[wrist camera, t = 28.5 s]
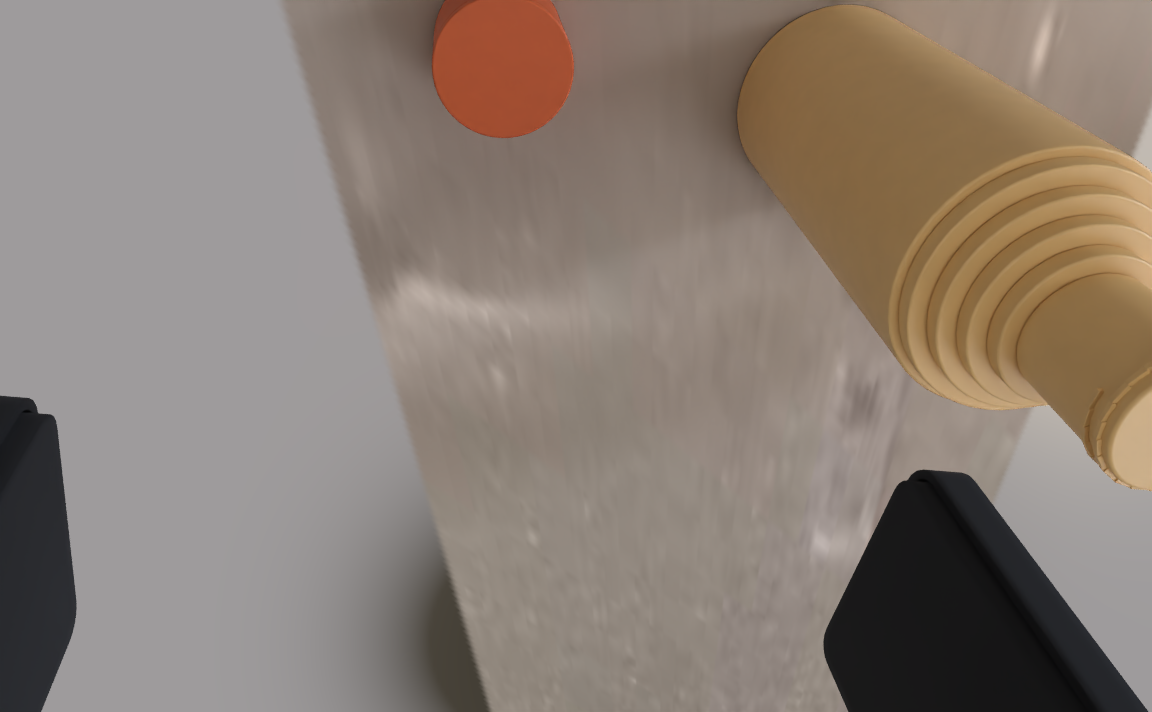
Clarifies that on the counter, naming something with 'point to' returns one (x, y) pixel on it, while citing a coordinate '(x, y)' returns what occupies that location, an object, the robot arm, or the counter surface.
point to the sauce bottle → (965, 224)
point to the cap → (501, 64)
